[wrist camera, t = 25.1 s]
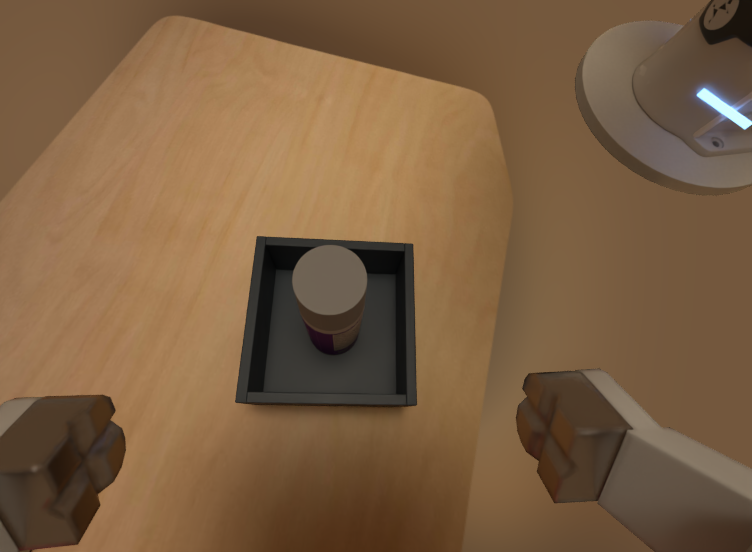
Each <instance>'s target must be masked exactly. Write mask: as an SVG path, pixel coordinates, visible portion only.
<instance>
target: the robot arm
mask: <svg viewBox="0 0 752 552" xmlns="http://www.w3.org/2000/svg"><path fill="white" fill-rule="evenodd" d="M632 83H633V90H634V94H635V96H636V99H637V101H638V103H639V104H640V106H641V107H642V109H643V110H644V111H645V113H646V114H647V115H648V116H649V117H650V118H651V119H652V120H653V121H654V122H656V123H657V124H658V125H659V126H661V127H662V128H664V129H665V130H667V131H668V132H670V133H672V134H674V135H676V136H677V137H679V138H680V139H682V140H683V141H684V142H685V143H686V144H687V145H688V146H689V147H690V148H691V149H692V150H693V151H694V152H695V153H697V154H698V155H700V156H702V157H713V156H722V155H731V154H740V153H749V152H752V0H711V1H710V2H709V3H708V4H707V5H706V6H705V7H703V8H702V9H701V10H700V12H698V13H697V14H696V15H695V16H694V17H693V18H692V19H691V20H690V21H689V22H688V23H687V24H686V25H685V26H683V27H682V28H681V29H680V30H679V31H678V32H677V33H676V34H675V35H674V36H673V37H672V38H669V39H667V40H666V41H665V42H664V43H663V44H662V45H661V46H660V47H659V48H658V50H657V51H656V52H654V53H653V54H652V55H651V56H649V57H648V58H647V59H645V60H644V61H643V62H641V63H640V64H639V65H638V67H637V68H636V70H635V72H634V75H633V82H632ZM522 389H523V391H524V392H525V394H526V395H527V397H526V398H525V399H524V400H523V401H522V402H521V403H520V404H519V405H518V410H517V415H516V422H517V431H518V434H519V437H520V440H521V443H522V445H523V447H524V448H525V450H526V452H527V453H529V454H530V455H531V456H533V457H534V458H535V459H537V460H538V461H539V464H538V469H537V473H538V474H539V476H540V478H541V480H542V482H543V484H544V485H545V487H546V489H547V491H548V493H549V494H550V496H551V498H552V500H553V502H554V503H567V502H585V501H598V504H599V505H600V506H601V507H602V508H604V509H605V510H606V511H607V512H608V513H610V514H611V515H612V516H613V517H614V518H615V519H617V520H618V521H619V522H620V523H621V524H622V525H624V526H625V527H626V528H627V529H628V530H630V531H631V532H632V533H633V534H634V535H635V536H637V537H638V538H639V539H640V540H641V541H643V542H644V543H645V544H646V545H647V546H648V547H650V548H651V549H652V550H653V551H654V552H752V469H751V468H749V467H747V466H745V465H743V464H741V463H739V462H737V461H735V460H733V459H731V458H729V457H727V456H725V455H723V454H721V453H719V452H717V451H715V450H713V449H711V448H709V447H707V446H705V445H703V444H702V443H700V442H697V441H696V440H693V439H692V438H689V437H688V436H685V435H684V434H682V433H680V432H678V431H676V430H674V429H672V428H670V427H669V428H662V427H661V426H660V425H659V424H658V423H656V421H655V420H654V419H653V418H652V417H651V416H650V415H649V414H648V413H647V412H646V411H645V410H644V409H643V408H642V407H641V406H640V405H639V404H638V403H637V402H636V401H635V400H634V399H633V398H632V397H631V396H630V395H629V394H628V393H627V392H626V391H625V390H624V389H623V388H622V387H621V386H620V385H619V384H618V383H617V382H616V381H615V380H614V379H613V378H612V377H611V376H610V375H609V374H608V373H607V372H605V371H603V370H601V369H587V370H575V371H563V372H544V373H529V374H528V375H527V377H526V378H525V380H524V384H523V388H522ZM115 411H116V410H115V408H114V405H113V403H112V400H111V398H110V397H108V396H105V395H76V396H46V397H24V398H14V399H12V400H9V401H6V402H4V403H3V404H2V405H1V406H0V552H20V551H25V550H34V549H42V548H51V547H60V546H68V545H77V544H79V542H80V540H81V538H82V537H83V535H84V533H85V531H86V530H87V528H88V526H89V524H90V523H91V521H92V519H93V517H94V516H95V514H96V512H97V510H98V509H99V507H100V501H99V497H98V494H99V493H100V492H101V491H102V490H104V489H105V488H106V487H108V486H109V485H110V484H111V483H113V482H114V480H115V478H116V477H117V475H118V473H119V471H120V469H121V467H122V464H123V460H124V456H125V452H126V443H125V436H124V433H123V430H122V428H121V427H119V426H118V425H116V424H115V423H114V422H112V421H111V418H112V416H113V415H114V413H115Z"/></svg>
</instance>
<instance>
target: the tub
mask: <svg viewBox="0 0 752 552" xmlns="http://www.w3.org/2000/svg"><path fill="white" fill-rule="evenodd" d="M324 245H336V246H341V247H344V248H346V249H348V250H350V251H352V252H353V253H354V254H356V255H357V256H358V257H359V258H360V260H361V261H362V263H363V265H364V267H365V269H366V273H367V288H366V297H365V306H364V311H363V316H362V320H361V325H360V329H359V334H358V338H357V340H356V342H355V344H354V345H353V347H352V348H351V349H350V350H348V351H347V352H345V353H343V354H340V355H327V354H324V353H322V352H321V351H319V350H318V349H317V348H316V347H315V346H314V345H313V343H312V341H311V339H310V336H309V334H308V331H307V329H306V326H305V324H304V321H303V319H302V316H301V314H300V311H299V307H298V304H297V300H296V297H295V293H294V290H293V285H292V276H293V271H294V268H295V266H296V264H297V262H298V261H299V260H300V258H301V257H302V256H303V255H304V254H306V253H307V252H308V251H310V250H312V249H314V248H316V247H319V246H324ZM235 402H236V403H243V404H252V405H295V406H361V407H408V406H416V405H417V391H416V346H415V301H414V256H413V244H407V243H405V244H404V243H387V242H366V241H345V240H324V239H303V238H282V237H263V236H257V239H256V247H255V255H254V262H253V270H252V277H251V285H250V293H249V300H248V308H247V316H246V323H245V331H244V339H243V346H242V354H241V361H240V369H239V377H238V384H237V392H236V400H235Z"/></svg>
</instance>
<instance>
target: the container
mask: <svg viewBox="0 0 752 552" xmlns="http://www.w3.org/2000/svg"><path fill="white" fill-rule="evenodd" d="M292 285H293V290H294V293H295V297H296V300H297V304H298V307H299V311H300V314H301V316H302V319H303V321H304V324H305V326H306V329H307V331H308V334H309V336H310V339H311V341H312V343H313V345H314V346H315V347H316V348H317V349H318V350H319V351H321V352H322V353H324V354H327V355H340V354H343V353H345V352H347V351H348V350H350V349H351V348H352V347H353V345H354V344H355V342H356V340H357V338H358V334H359V329H360V325H361V320H362V316H363V311H364V306H365V297H366V288H367V273H366V269H365V267H364V265H363V263H362V261H361V260H360V258H359V257H358V256H357V255H356V254H354V253H353V252H352V251H350V250H348V249H346V248H344V247H341V246H336V245H324V246H319V247H316V248H314V249H312V250H310V251H308V252H307V253H306V254H304V255H303V256H302V257H301V258H300V260H299V261H298V262H297V264H296V266H295V268H294V271H293V276H292Z"/></svg>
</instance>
